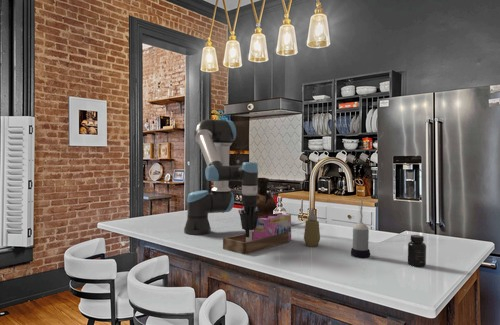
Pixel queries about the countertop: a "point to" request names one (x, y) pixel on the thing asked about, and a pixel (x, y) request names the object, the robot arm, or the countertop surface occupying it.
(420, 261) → the supplement bottle
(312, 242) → the squeeze bottle
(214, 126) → the robot arm
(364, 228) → the grey long nozzle bottle
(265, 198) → the ceramic vessel
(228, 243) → the u-shaped wooden frame
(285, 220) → the gum box
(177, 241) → the countertop surface
